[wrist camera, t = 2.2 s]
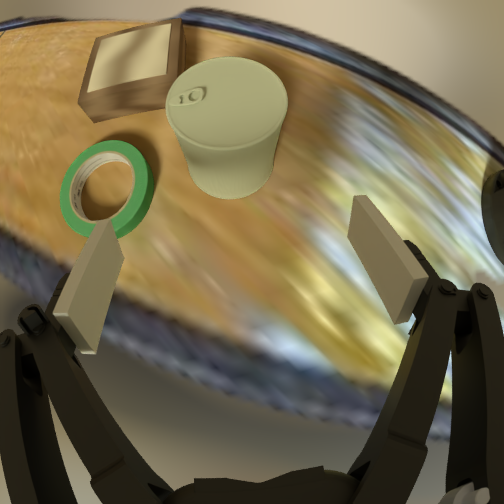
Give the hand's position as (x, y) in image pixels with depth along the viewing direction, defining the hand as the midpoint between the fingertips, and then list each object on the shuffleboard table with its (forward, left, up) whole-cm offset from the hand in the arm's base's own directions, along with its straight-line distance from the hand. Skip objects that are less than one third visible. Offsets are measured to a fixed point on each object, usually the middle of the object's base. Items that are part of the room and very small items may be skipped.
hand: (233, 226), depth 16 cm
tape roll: (+14, -8, -15) cm, 22 cm away
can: (0, -10, -15) cm, 18 cm away
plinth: (+11, -24, -14) cm, 30 cm away
